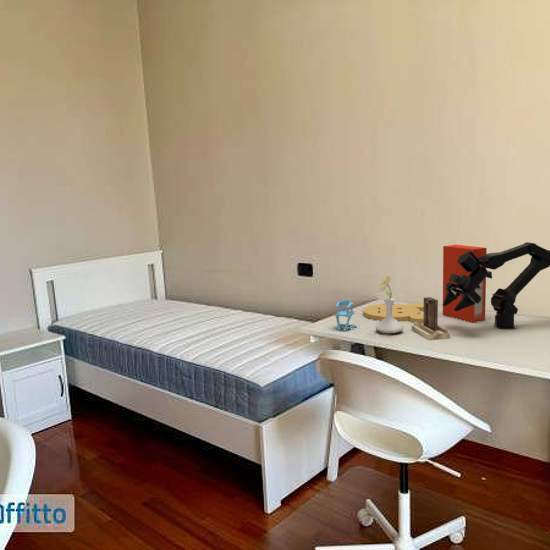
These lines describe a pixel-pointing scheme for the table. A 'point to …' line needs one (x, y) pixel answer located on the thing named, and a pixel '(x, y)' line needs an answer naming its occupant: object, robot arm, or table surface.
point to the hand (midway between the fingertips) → (448, 308)
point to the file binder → (452, 266)
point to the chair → (344, 314)
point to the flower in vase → (388, 311)
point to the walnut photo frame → (431, 313)
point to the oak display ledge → (430, 332)
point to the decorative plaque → (396, 312)
